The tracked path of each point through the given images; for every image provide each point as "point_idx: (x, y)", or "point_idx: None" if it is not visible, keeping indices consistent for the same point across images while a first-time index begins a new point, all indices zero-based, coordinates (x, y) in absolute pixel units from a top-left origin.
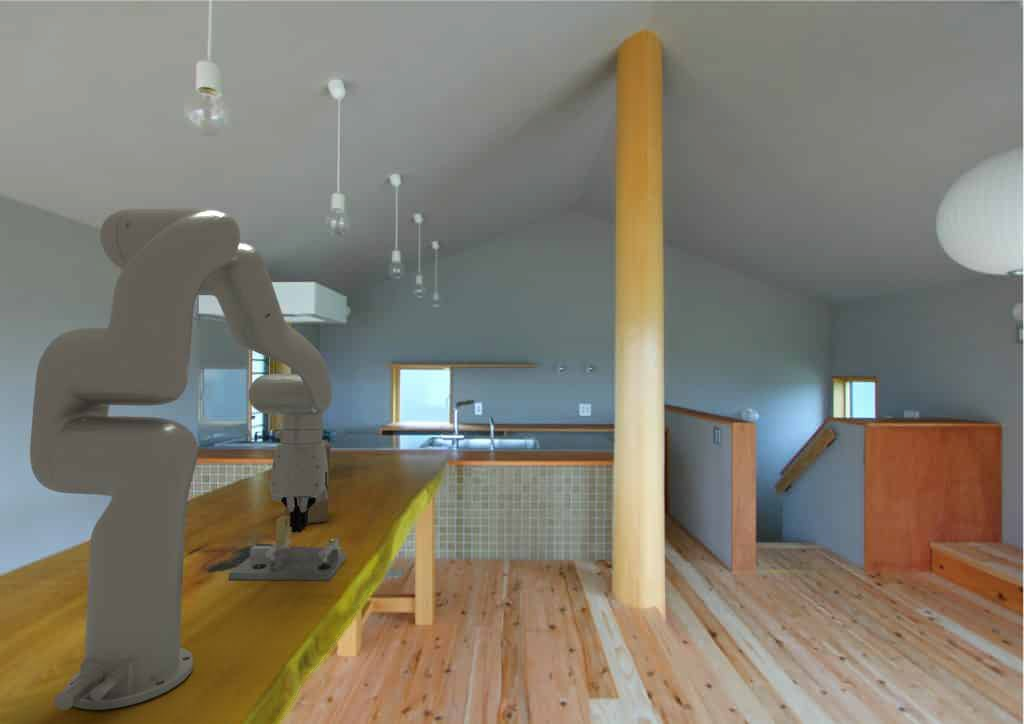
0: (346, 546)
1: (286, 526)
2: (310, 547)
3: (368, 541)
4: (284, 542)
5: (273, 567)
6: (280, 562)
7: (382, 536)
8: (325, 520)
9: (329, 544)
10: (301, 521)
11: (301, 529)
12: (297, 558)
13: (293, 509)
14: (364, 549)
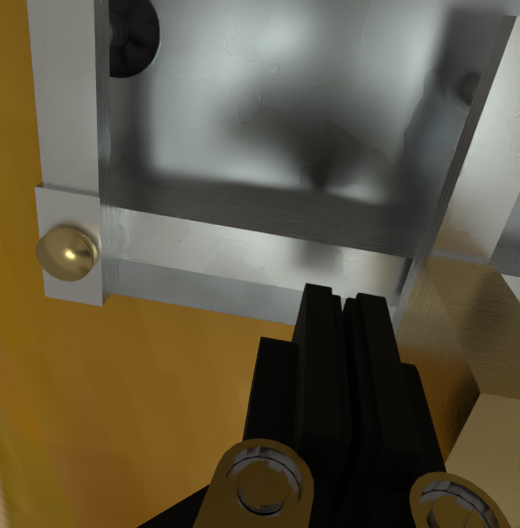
0: (129, 426)
1: (447, 359)
2: (240, 260)
3: (51, 465)
4: (428, 262)
5: (465, 64)
6: (422, 167)
7: (13, 505)
8: None
9: (74, 192)
10: (296, 373)
11: (297, 325)
12: (321, 217)
13: (415, 499)
14: (32, 377)
